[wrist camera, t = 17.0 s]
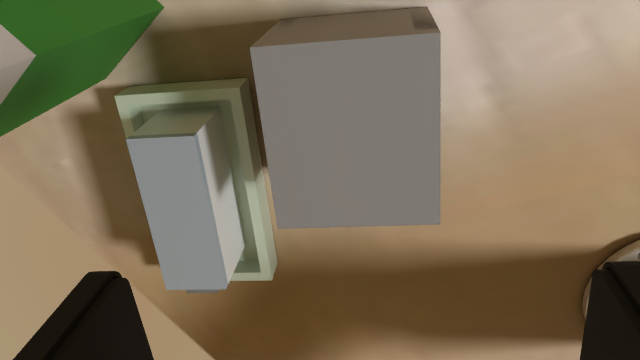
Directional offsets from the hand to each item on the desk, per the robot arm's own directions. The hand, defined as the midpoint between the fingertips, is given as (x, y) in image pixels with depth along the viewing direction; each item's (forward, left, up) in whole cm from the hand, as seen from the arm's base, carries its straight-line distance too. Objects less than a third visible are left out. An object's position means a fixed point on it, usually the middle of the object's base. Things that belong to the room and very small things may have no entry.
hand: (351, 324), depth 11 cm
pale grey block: (+14, +10, -28) cm, 32 cm away
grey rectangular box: (+1, +3, -28) cm, 29 cm away
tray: (+14, +10, -28) cm, 33 cm away
